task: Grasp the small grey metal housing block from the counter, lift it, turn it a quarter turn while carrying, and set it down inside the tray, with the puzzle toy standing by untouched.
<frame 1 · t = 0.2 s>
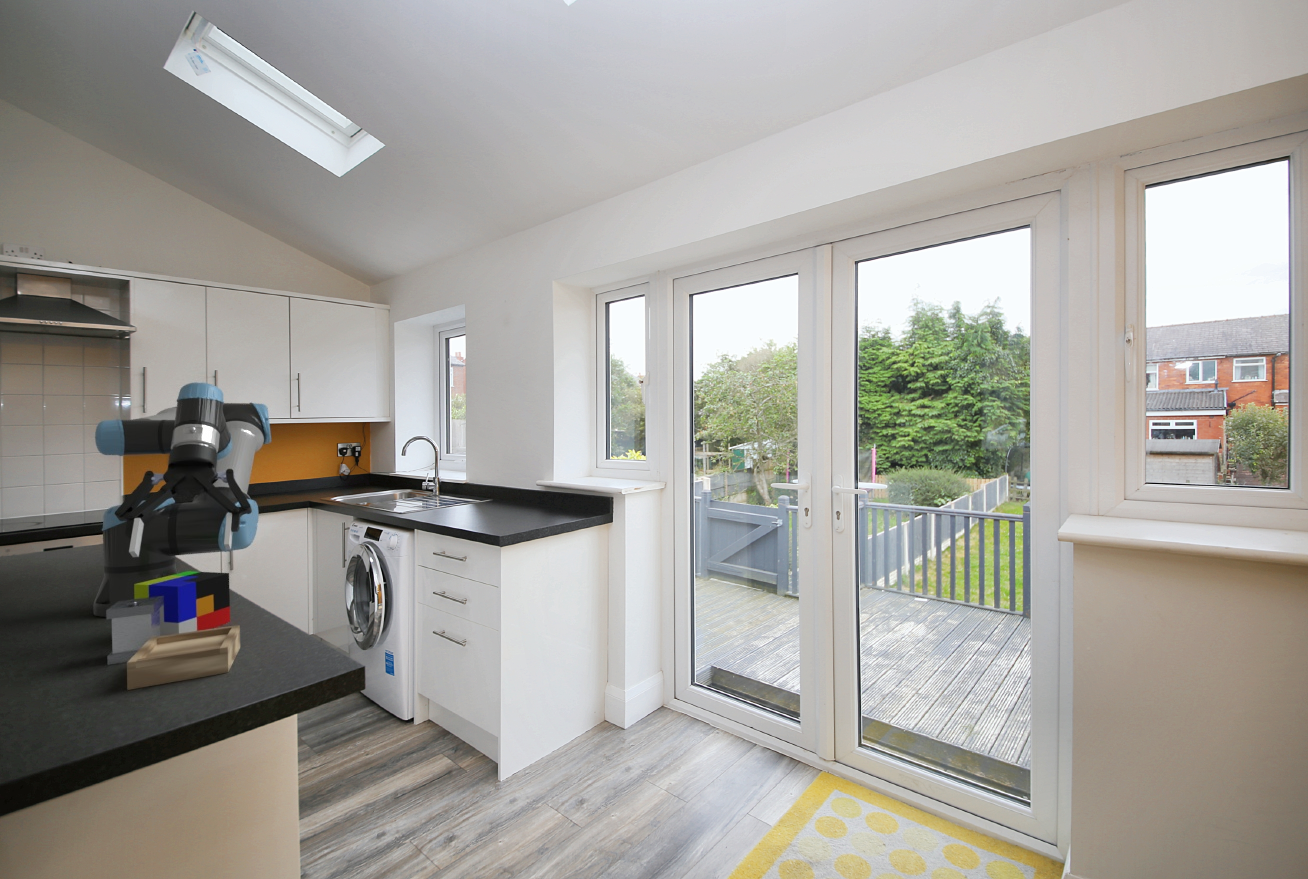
hand: (182, 550, 105), 16 cm above the table, tool tilted 30°, fingers open, 13 cm apart
tray: (188, 666, 92), on the table
housing: (137, 655, 97), on the table
puzzle toy: (184, 631, 110), on the table
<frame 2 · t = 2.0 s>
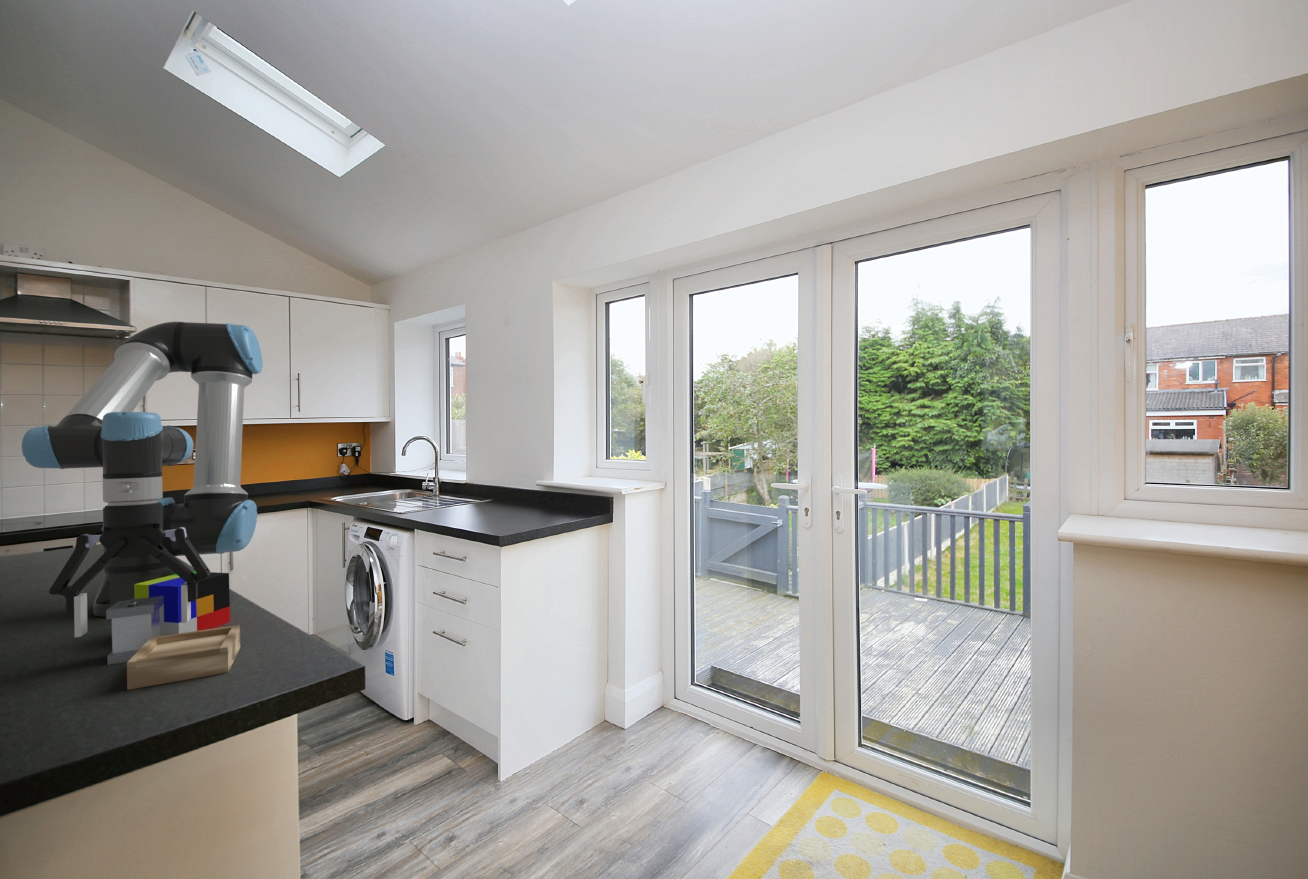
hand: (135, 627, 97), 5 cm above the table, tool pointing down, fingers open, 13 cm apart
nothing on the table moved.
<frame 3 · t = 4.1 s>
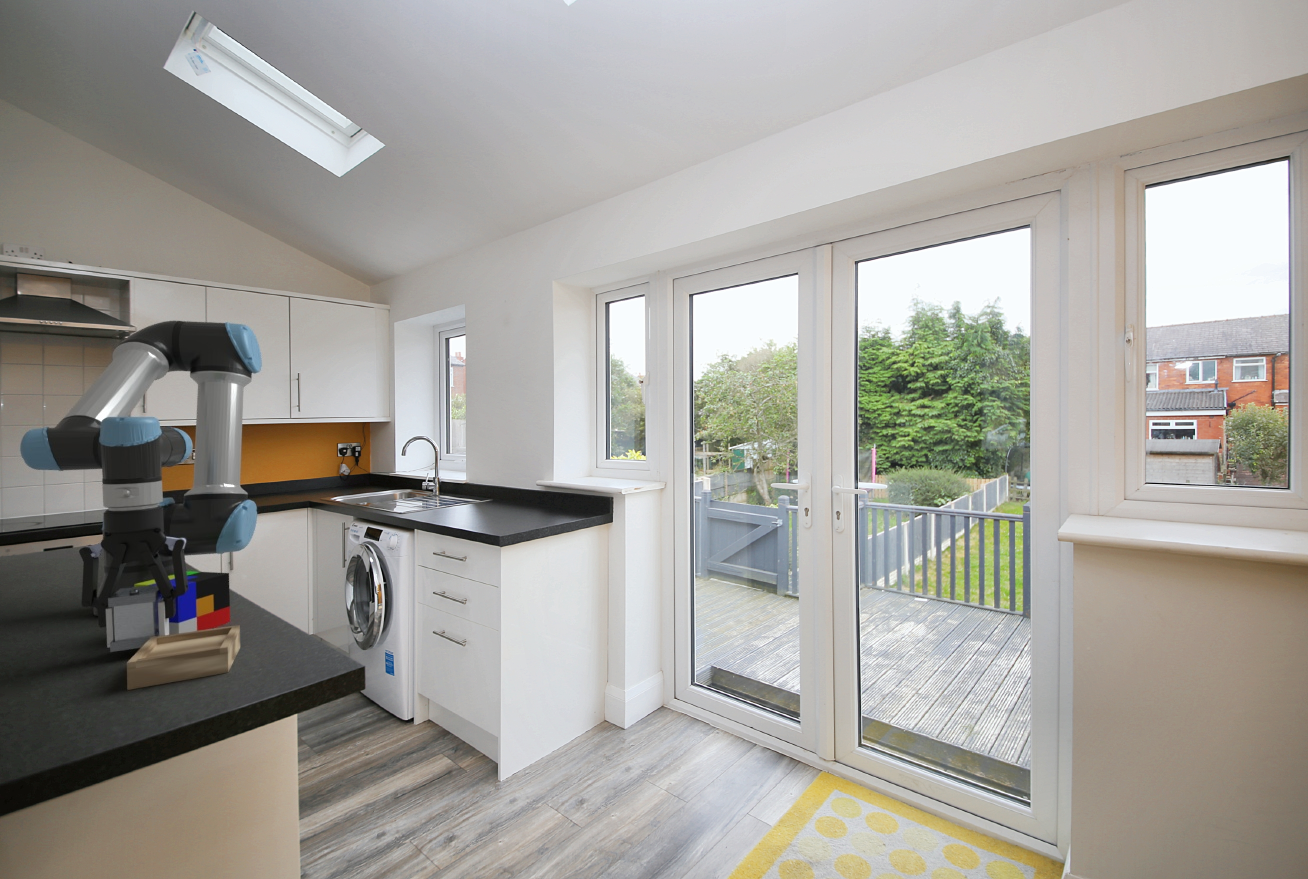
hand: (139, 640, 98), 2 cm above the table, tool pointing down, fingers closed on housing, 6 cm apart
housing: (139, 642, 98), point 2 cm above the table, touching gripper
everything else where it was.
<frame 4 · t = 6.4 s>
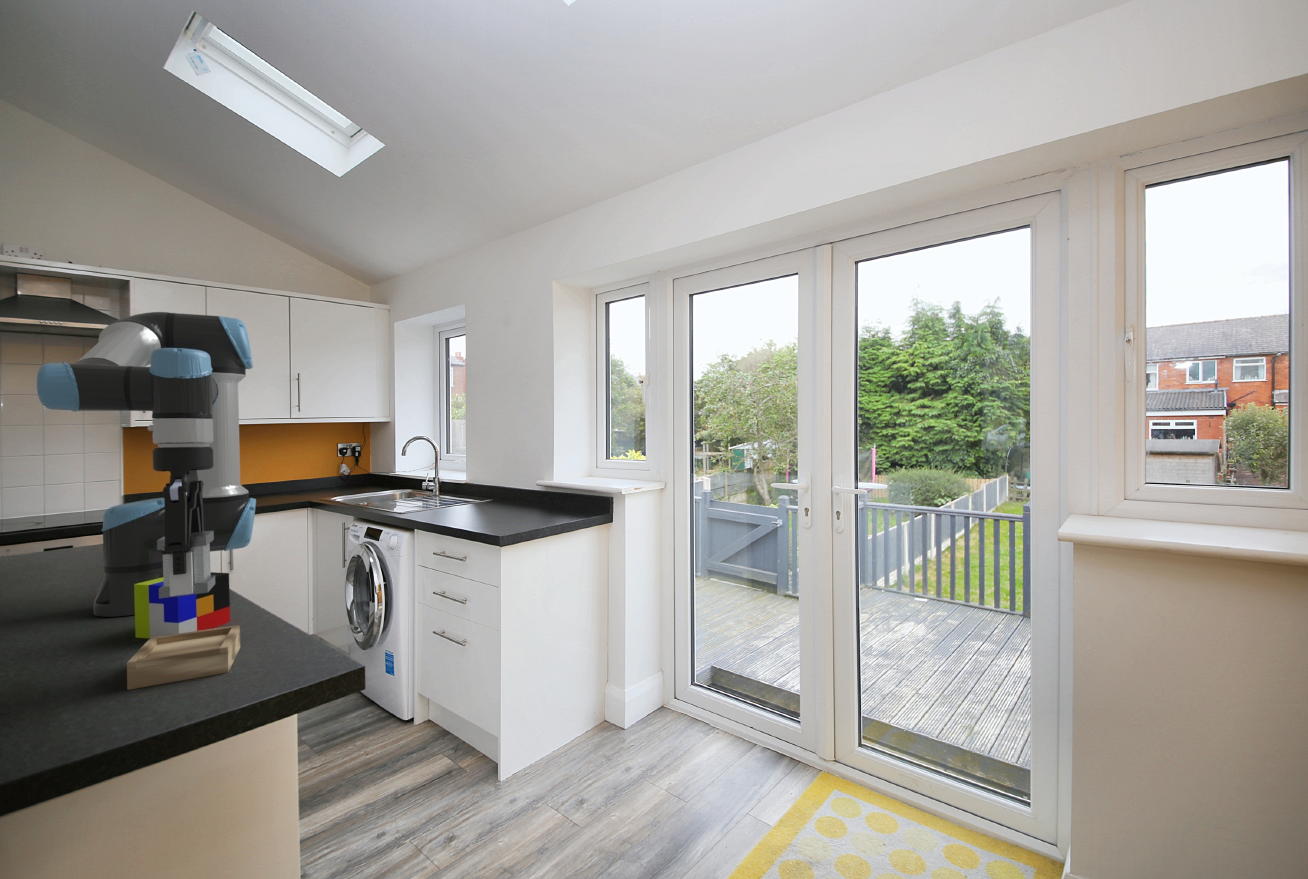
hand: (186, 588, 92), 13 cm above the table, tool pointing down, fingers closed on housing, 6 cm apart
housing: (188, 590, 92), point 12 cm above the table, touching gripper
everything else where it was.
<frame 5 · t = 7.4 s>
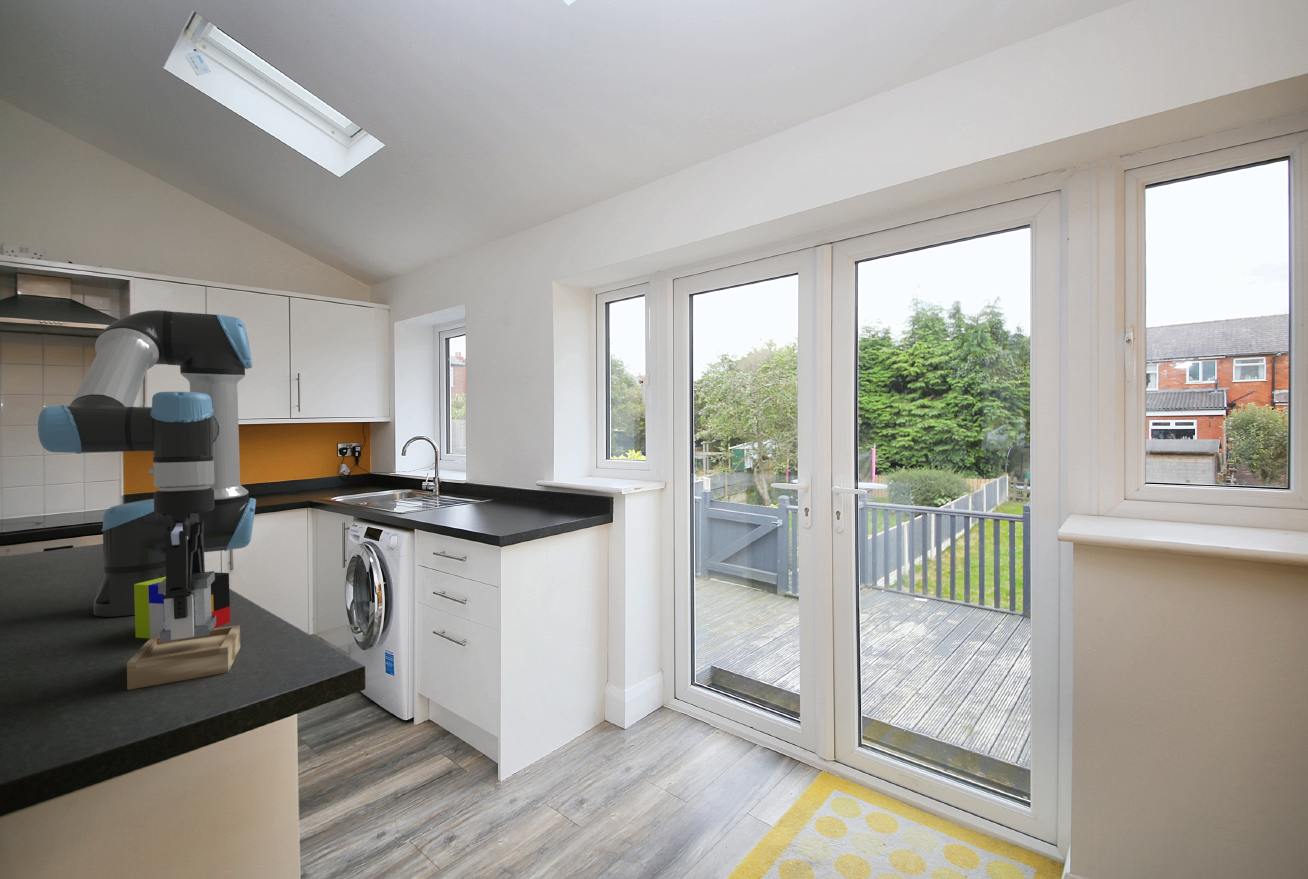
hand: (187, 631, 92), 6 cm above the table, tool pointing down, fingers closed on housing, 6 cm apart
housing: (189, 632, 92), point 5 cm above the table, touching gripper
everything else where it was.
when the fingers open (4 cm above the table, at t = 8.5 s): housing stays where it is, resting on tray.
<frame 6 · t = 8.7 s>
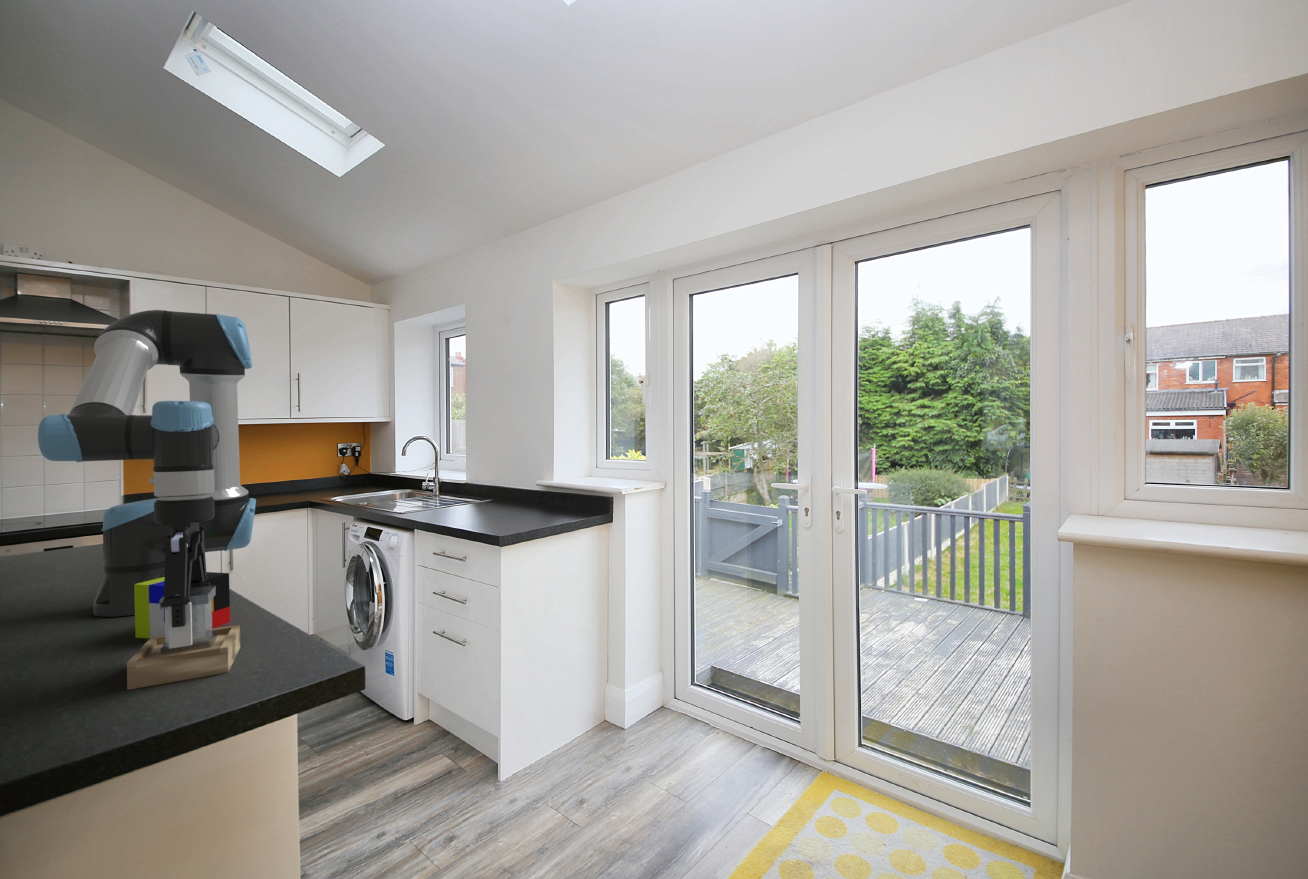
hand: (188, 636, 92), 5 cm above the table, tool pointing down, fingers open, 9 cm apart
housing: (190, 647, 92), point 3 cm above the table, touching tray
everything else where it was.
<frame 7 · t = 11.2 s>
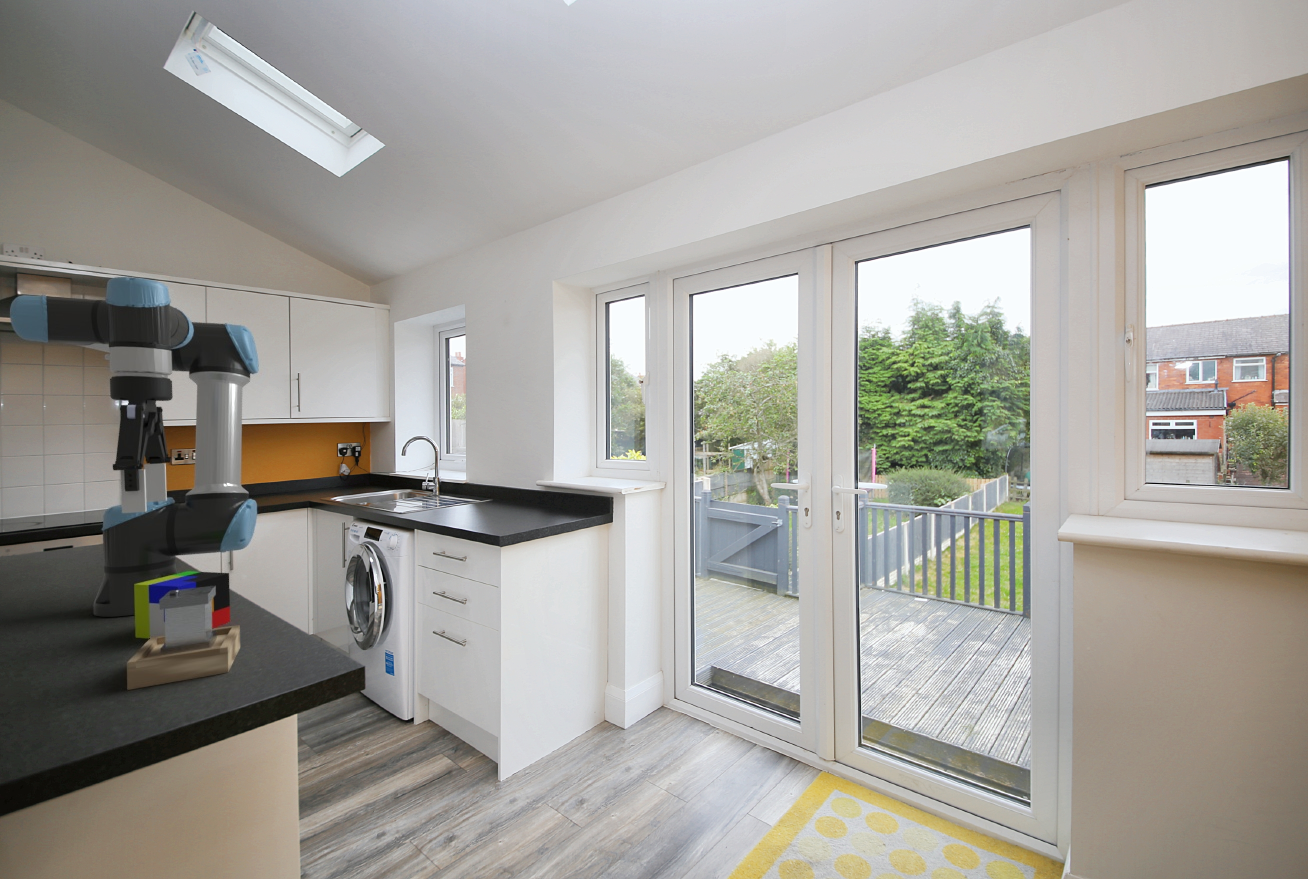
hand: (146, 506, 93), 26 cm above the table, tool pointing down, fingers open, 13 cm apart
nothing on the table moved.
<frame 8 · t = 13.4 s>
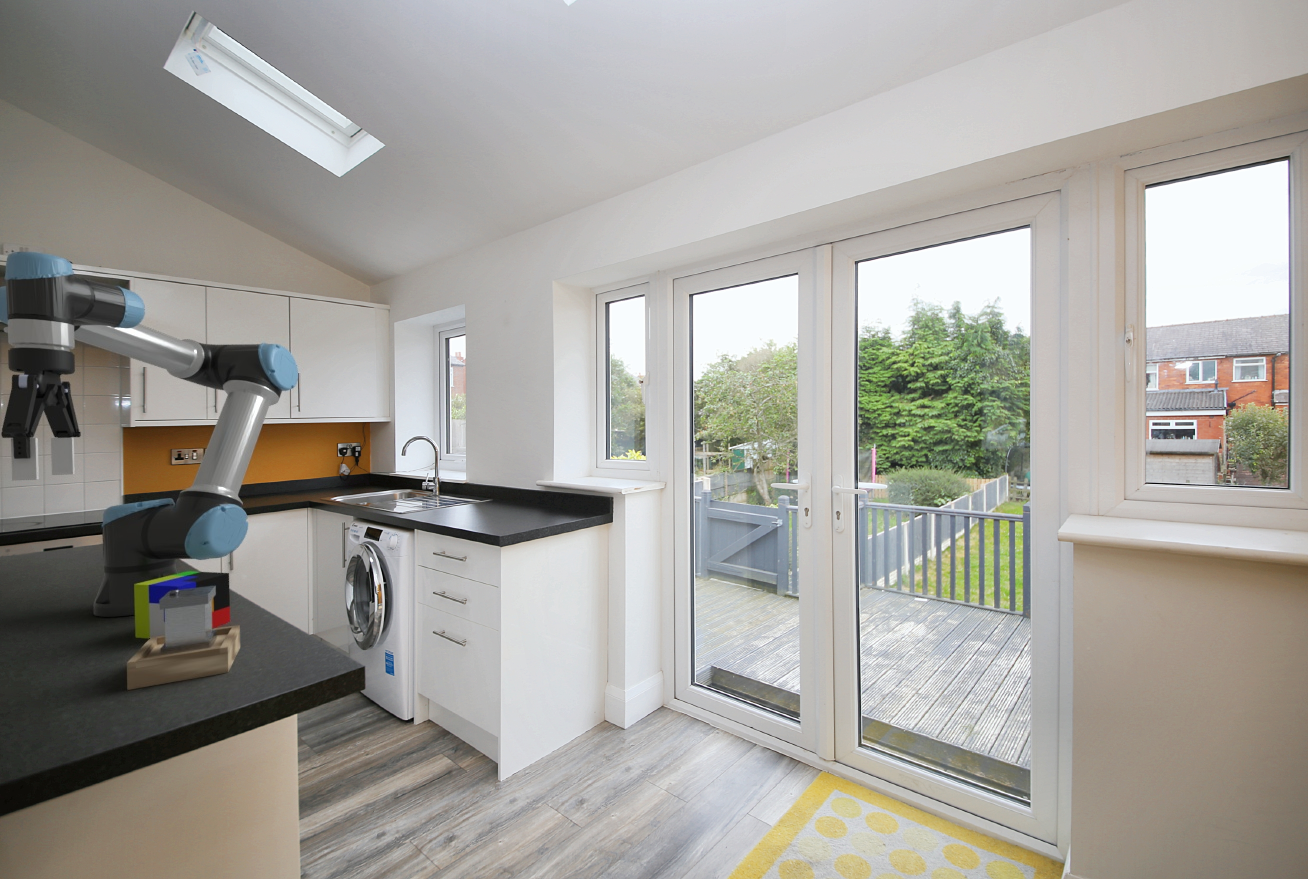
hand: (45, 477, 95), 31 cm above the table, tool pointing down, fingers open, 13 cm apart
nothing on the table moved.
at the end: housing inside the target area on the tray (0.2 cm from its centre), point 3.0 cm above the tray's base; housing tilted 0°; the gripper is holding nothing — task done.
